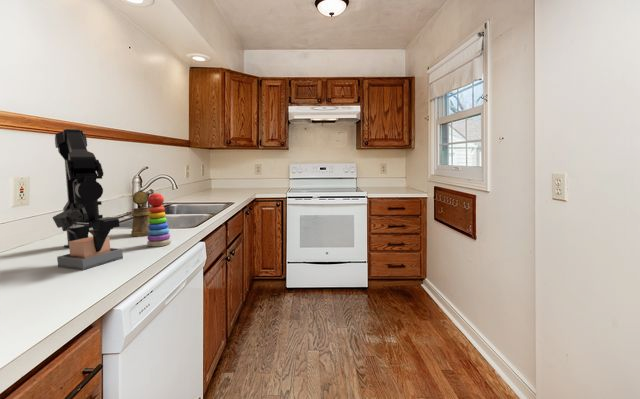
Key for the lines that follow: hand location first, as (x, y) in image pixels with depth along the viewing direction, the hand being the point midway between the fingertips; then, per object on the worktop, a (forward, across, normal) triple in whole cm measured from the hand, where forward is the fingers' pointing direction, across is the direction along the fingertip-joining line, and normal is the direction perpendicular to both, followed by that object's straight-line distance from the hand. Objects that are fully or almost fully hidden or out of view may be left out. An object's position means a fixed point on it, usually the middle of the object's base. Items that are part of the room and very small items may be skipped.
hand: (90, 250), depth 102 cm
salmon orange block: (+1, 0, 0) cm, 1 cm away
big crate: (+4, 0, 0) cm, 4 cm away
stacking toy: (+4, +2, +24) cm, 24 cm away
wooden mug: (+4, -21, +38) cm, 44 cm away
